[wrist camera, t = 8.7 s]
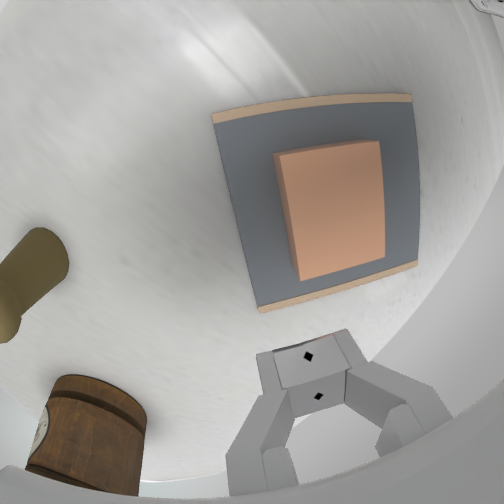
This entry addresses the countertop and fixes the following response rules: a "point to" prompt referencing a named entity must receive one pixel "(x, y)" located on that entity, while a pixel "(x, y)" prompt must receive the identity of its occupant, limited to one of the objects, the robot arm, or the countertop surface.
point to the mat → (268, 195)
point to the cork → (29, 276)
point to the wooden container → (90, 437)
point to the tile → (332, 205)
